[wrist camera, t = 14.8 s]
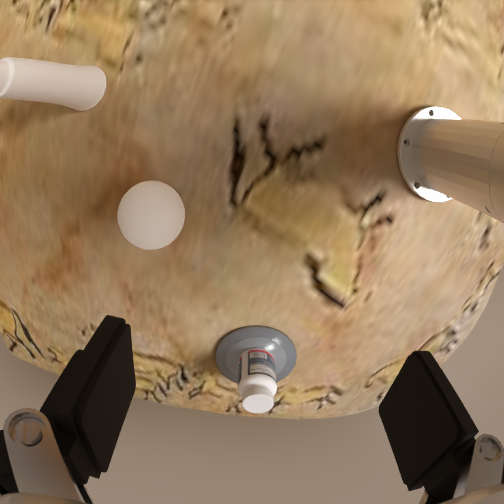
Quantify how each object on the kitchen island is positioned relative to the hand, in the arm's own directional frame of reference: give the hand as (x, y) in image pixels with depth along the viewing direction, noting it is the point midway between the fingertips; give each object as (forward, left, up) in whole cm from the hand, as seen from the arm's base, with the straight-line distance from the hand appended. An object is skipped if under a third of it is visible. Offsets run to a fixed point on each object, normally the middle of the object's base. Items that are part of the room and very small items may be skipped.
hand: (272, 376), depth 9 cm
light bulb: (+10, +2, -28) cm, 30 cm away
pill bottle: (-4, +24, -28) cm, 37 cm away
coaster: (-4, +24, -28) cm, 37 cm away
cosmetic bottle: (+23, -11, -28) cm, 38 cm away
